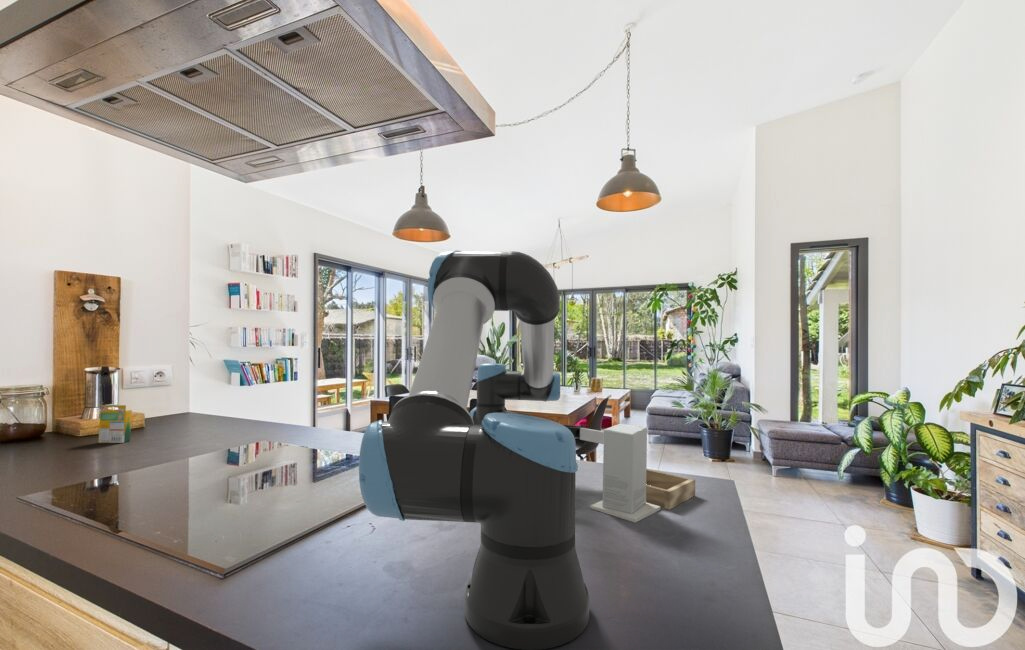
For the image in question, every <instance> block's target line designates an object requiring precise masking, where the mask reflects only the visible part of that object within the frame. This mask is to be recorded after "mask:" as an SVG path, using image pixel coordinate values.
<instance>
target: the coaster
mask: <svg viewBox="0 0 1025 650" xmlns="http://www.w3.org/2000/svg"><path fill="white" fill-rule="evenodd" d="M602 504H603V499H602V500H600V501H598V502H595V503H593V504H590V506H589V507H590V509H592V510H594V511H597V512H599V513H600V512H601V513H604V514H606V515H610V516H613V517H616V518H620V519H623V520H625V521H629V522H632V523H638V522H639V521H641V520H643V519H646V518H647V517H649V516H651V515H653V514H655V513H657V512H658V511H660V510H662V509H661V508H662V507H661V506H657V505H654V504H650V503H647V502H646V503H645V504H644V505H642V506H641V507H640V508H639V509H637V510H636V511H635V512H634V513H632V514H628V513H624V512H621V511H617V510H613V509H609V508H604V507H603V506H602Z"/></svg>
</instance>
